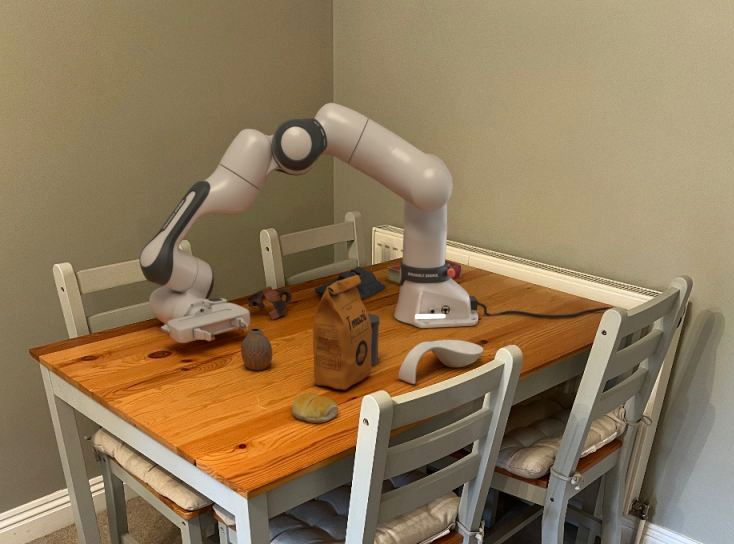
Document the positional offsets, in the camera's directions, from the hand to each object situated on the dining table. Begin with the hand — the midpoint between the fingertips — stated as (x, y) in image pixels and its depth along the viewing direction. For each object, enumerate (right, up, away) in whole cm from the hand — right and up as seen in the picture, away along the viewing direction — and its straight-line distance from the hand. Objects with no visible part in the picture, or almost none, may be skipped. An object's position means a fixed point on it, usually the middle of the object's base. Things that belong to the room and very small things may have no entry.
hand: (229, 332), depth 171 cm
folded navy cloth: (+26, +23, +47) cm, 59 cm away
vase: (+7, -9, -3) cm, 12 cm away
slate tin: (+31, -6, +1) cm, 31 cm away
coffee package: (+27, -13, -9) cm, 31 cm away
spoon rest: (+48, -9, -2) cm, 49 cm away
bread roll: (+21, -22, -23) cm, 39 cm away
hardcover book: (+49, +31, +60) cm, 84 cm away
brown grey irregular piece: (+6, +12, +29) cm, 32 cm away
